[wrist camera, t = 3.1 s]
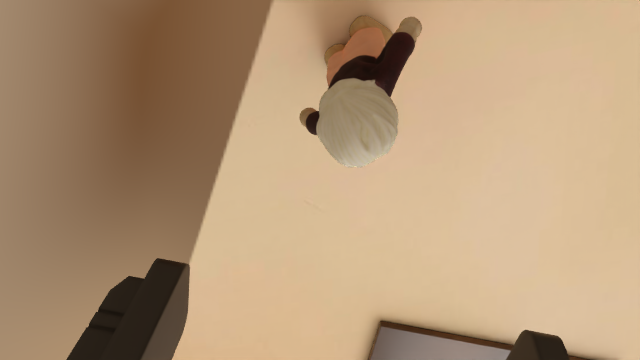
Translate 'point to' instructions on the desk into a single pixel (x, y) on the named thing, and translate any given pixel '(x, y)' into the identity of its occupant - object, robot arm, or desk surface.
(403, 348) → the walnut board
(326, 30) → the desk surface
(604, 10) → the desk surface
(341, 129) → the grandmother figurine
